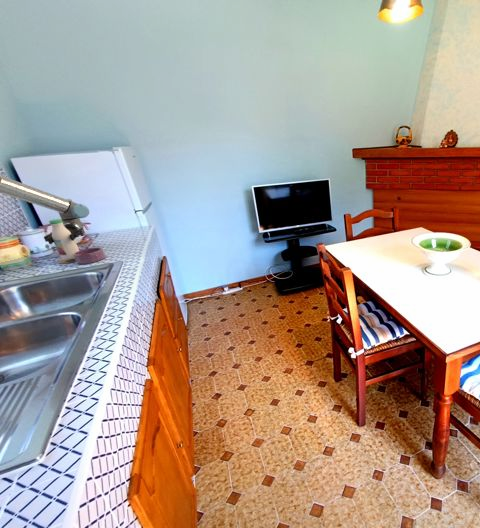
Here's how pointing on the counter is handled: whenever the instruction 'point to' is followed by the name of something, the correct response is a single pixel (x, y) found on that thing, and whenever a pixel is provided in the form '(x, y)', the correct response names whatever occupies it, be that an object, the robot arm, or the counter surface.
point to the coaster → (66, 261)
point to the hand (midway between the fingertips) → (60, 239)
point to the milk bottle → (63, 240)
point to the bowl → (89, 255)
